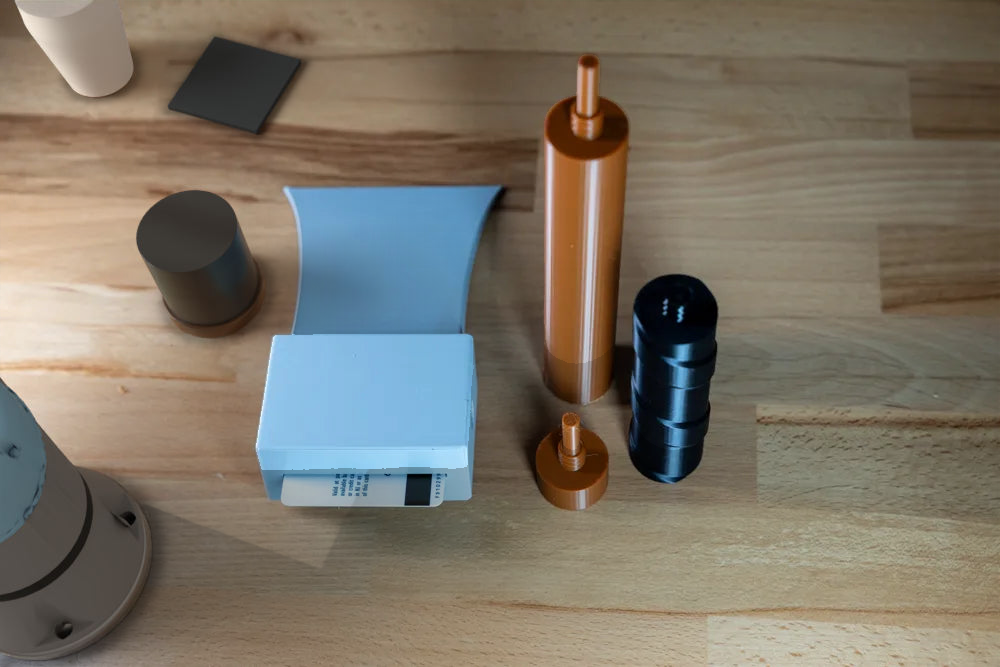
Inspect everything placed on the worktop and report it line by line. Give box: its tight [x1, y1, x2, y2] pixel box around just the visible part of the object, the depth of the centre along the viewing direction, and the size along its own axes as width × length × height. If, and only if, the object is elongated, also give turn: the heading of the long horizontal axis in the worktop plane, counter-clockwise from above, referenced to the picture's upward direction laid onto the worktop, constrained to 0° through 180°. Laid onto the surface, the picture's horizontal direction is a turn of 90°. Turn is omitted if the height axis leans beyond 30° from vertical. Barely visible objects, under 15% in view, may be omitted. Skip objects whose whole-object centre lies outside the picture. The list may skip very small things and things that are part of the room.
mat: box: [167, 36, 302, 135], centre depth 119 cm, size 10×10×1 cm
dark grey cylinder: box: [135, 189, 267, 339], centre depth 102 cm, size 9×9×10 cm
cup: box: [14, 0, 134, 98], centre depth 115 cm, size 9×9×12 cm
